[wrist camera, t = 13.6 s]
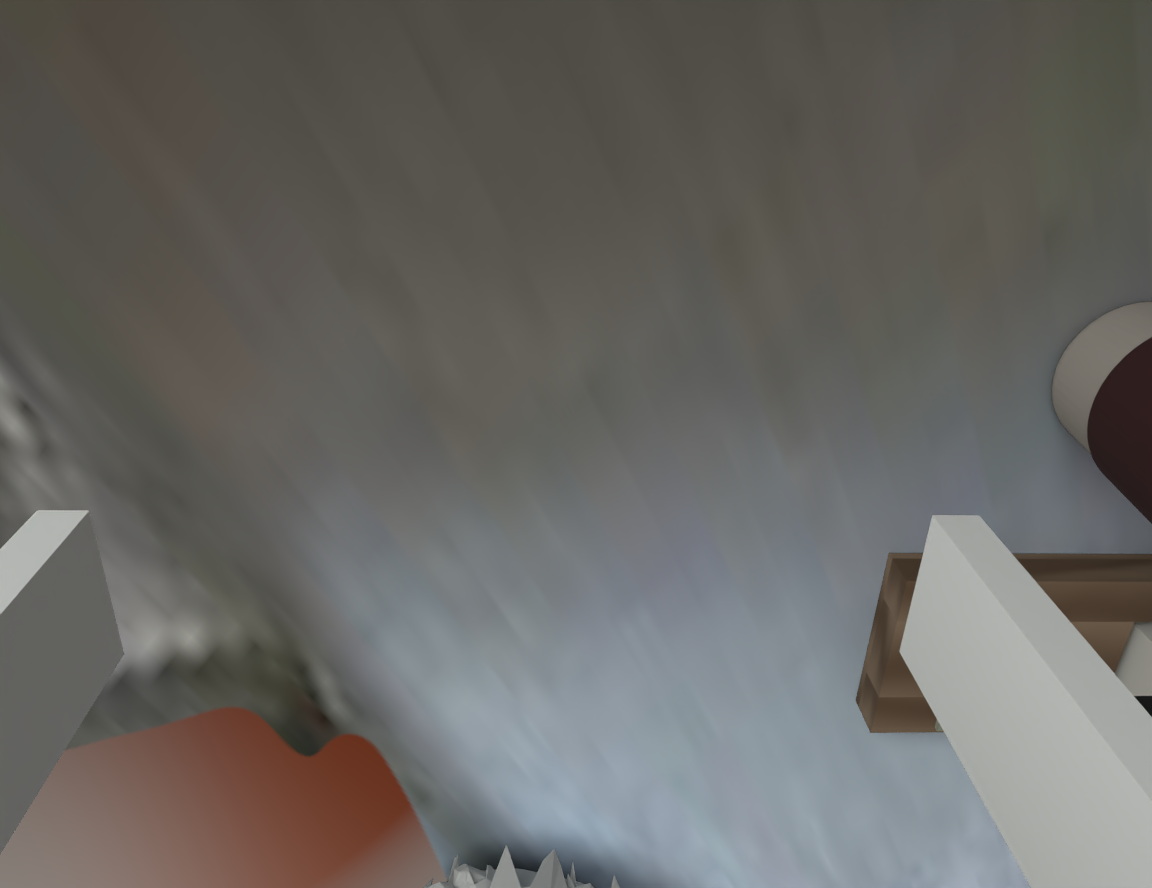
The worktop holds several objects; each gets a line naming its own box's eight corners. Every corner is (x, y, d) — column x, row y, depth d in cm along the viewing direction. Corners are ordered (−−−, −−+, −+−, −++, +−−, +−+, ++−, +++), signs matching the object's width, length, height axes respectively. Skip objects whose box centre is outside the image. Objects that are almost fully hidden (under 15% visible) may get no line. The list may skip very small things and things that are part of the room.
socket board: (888, 553, 47) (909, 584, 44) (1256, 554, 48) (1296, 585, 45) (855, 700, 51) (872, 736, 49) (1192, 698, 52) (1226, 734, 50)
